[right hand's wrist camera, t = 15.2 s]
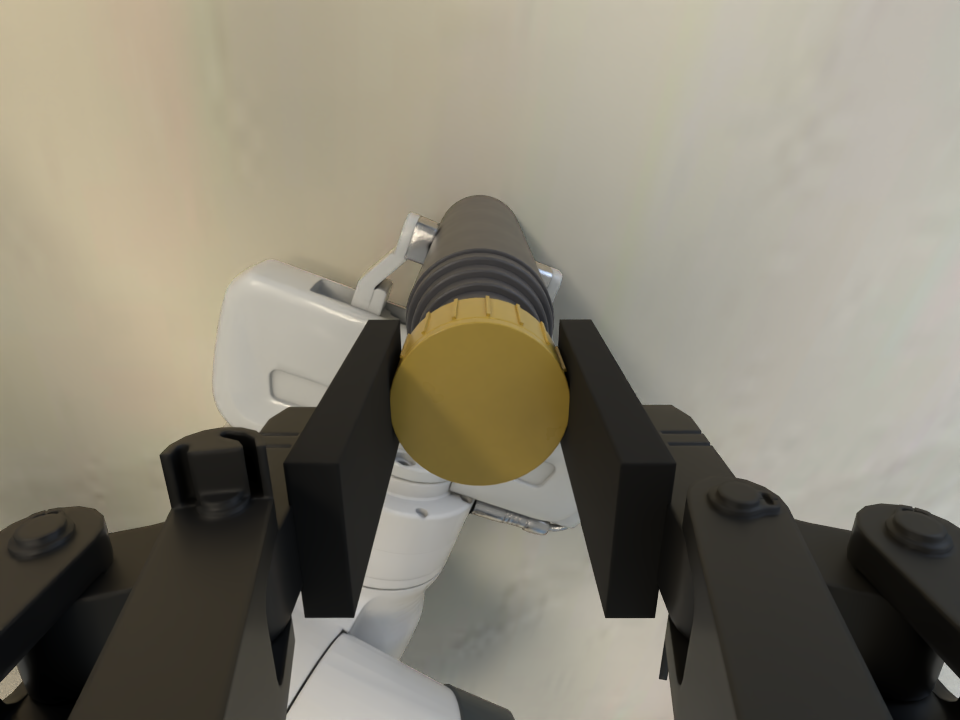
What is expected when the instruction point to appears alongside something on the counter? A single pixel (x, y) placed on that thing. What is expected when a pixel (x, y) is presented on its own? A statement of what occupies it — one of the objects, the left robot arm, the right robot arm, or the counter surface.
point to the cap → (479, 393)
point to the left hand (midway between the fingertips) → (485, 242)
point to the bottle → (479, 263)
